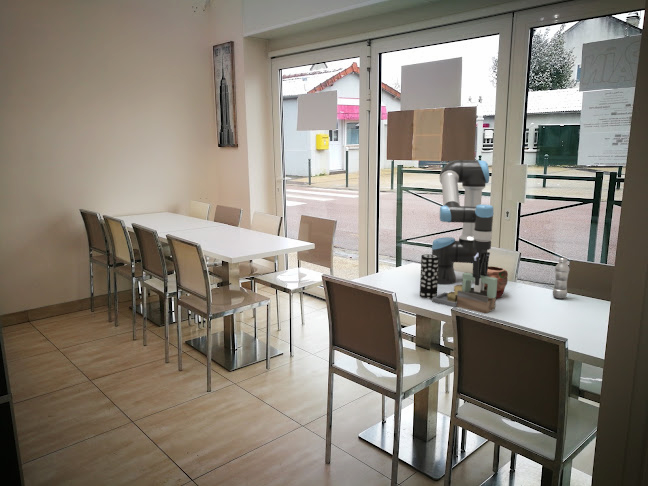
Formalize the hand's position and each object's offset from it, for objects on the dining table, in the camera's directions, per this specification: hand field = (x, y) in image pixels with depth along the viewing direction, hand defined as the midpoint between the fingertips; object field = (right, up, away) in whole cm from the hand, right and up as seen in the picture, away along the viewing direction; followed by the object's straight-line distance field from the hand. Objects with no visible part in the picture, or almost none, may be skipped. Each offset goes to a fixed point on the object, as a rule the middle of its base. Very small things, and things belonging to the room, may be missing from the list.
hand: (478, 290), depth 232 cm
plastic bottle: (+44, -5, +17) cm, 48 cm away
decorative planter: (+13, -4, +21) cm, 25 cm away
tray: (-11, -6, +10) cm, 16 cm away
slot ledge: (-1, -8, +2) cm, 8 cm away
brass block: (-8, -4, +8) cm, 12 cm away
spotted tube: (-19, -5, +19) cm, 27 cm away
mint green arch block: (0, -2, 0) cm, 2 cm away
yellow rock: (-7, -2, +6) cm, 9 cm away
